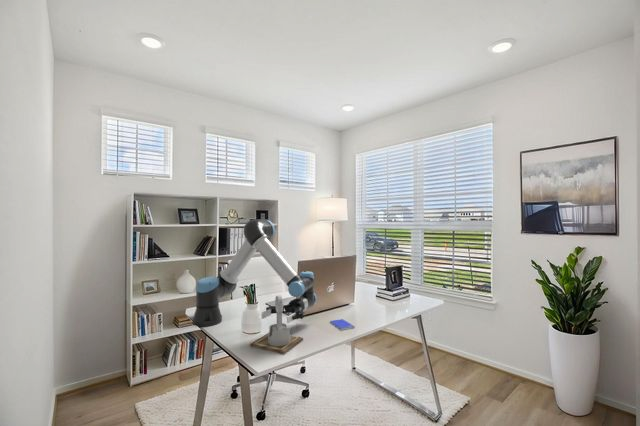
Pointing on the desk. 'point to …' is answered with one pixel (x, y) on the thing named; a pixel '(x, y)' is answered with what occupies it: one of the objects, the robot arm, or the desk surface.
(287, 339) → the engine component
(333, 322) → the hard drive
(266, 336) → the walnut board
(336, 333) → the desk surface
